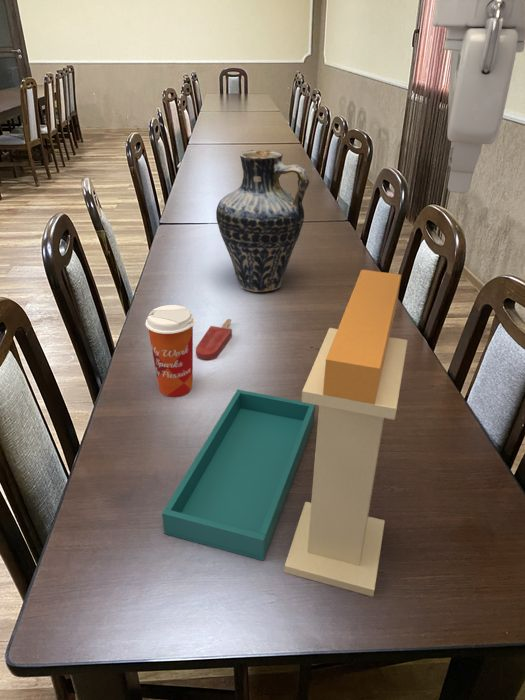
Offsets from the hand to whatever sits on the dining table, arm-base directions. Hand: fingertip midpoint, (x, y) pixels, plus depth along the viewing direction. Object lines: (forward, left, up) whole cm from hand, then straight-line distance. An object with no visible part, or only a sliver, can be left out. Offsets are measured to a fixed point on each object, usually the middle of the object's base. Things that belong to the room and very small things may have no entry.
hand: (457, 178), depth 50 cm
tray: (+20, -4, -41) cm, 45 cm away
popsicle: (+26, -40, -41) cm, 63 cm away
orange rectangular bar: (+8, +5, -15) cm, 18 cm away
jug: (+17, -67, -41) cm, 80 cm away
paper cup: (+32, -24, -41) cm, 57 cm away
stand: (+9, +9, -41) cm, 43 cm away
